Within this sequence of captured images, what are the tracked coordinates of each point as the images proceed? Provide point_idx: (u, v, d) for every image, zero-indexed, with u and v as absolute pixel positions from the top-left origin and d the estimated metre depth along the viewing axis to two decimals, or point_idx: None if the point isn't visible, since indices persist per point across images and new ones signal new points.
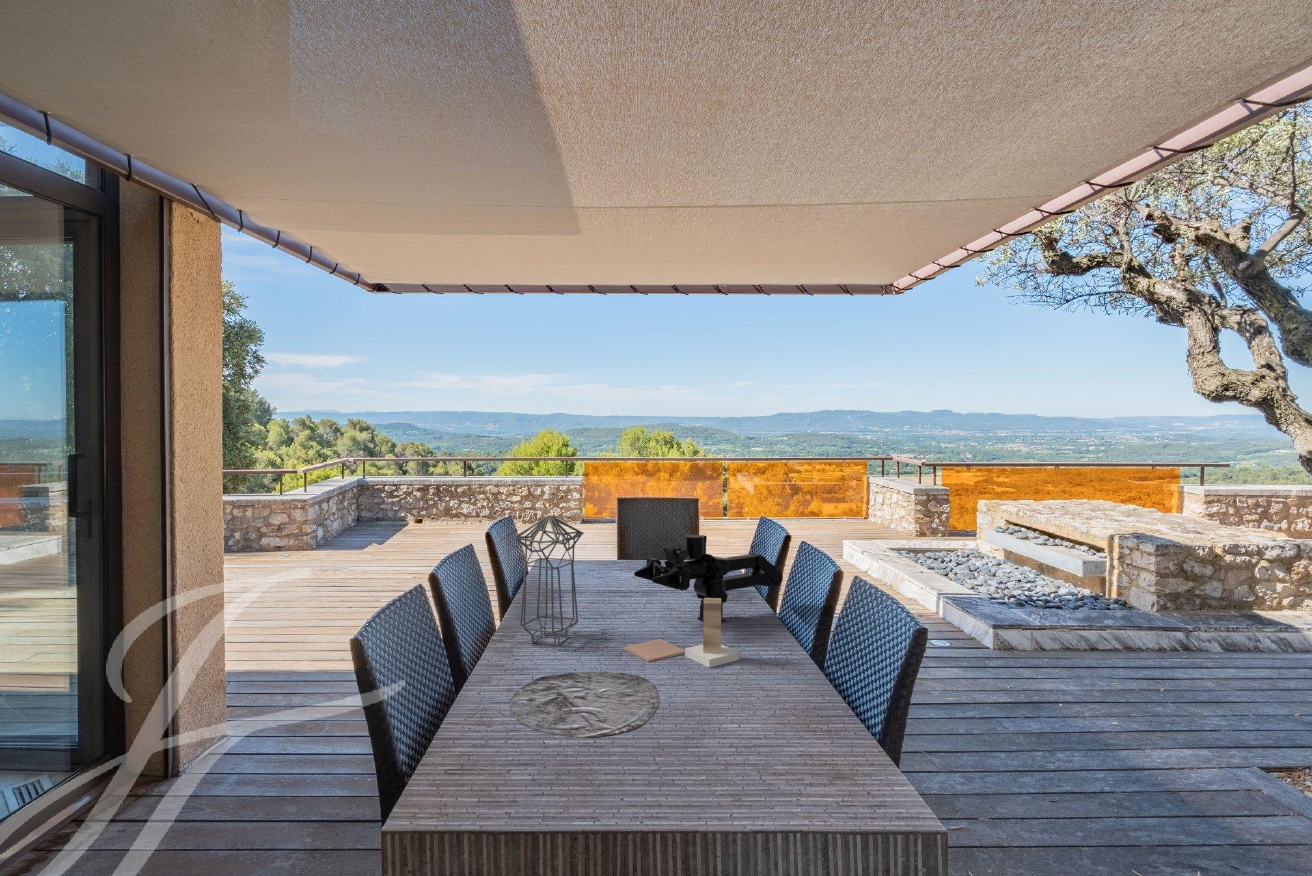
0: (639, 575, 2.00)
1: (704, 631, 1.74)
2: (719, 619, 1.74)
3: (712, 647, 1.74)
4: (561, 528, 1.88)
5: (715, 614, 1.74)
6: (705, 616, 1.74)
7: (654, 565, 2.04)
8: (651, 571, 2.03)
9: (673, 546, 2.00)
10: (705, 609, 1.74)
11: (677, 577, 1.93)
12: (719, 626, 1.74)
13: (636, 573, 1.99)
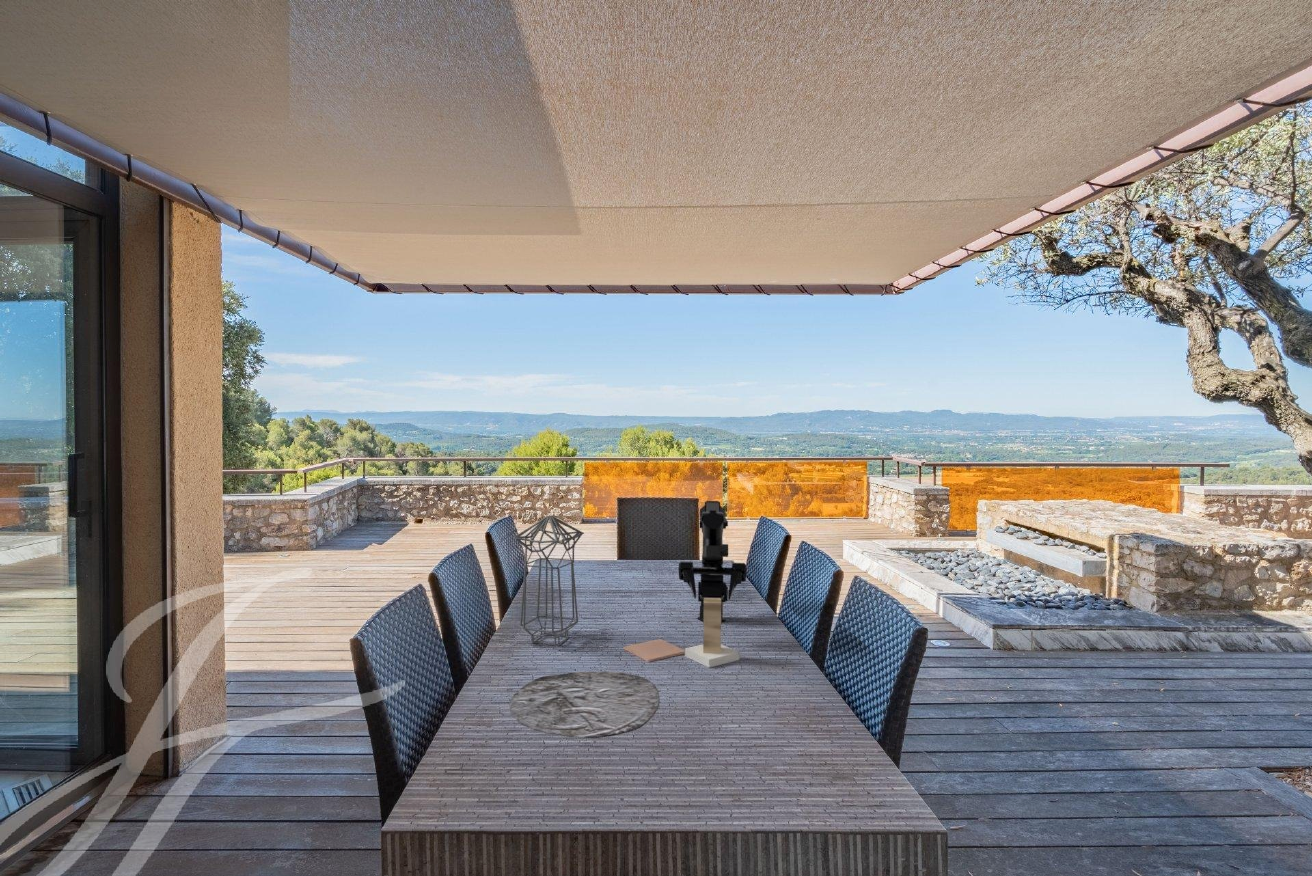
0: None
1: (704, 631, 1.74)
2: (719, 619, 1.74)
3: (712, 647, 1.74)
4: (561, 528, 1.88)
5: (715, 614, 1.74)
6: (705, 616, 1.74)
7: None
8: None
9: (716, 551, 1.85)
10: (705, 609, 1.74)
11: (740, 577, 1.88)
12: (719, 626, 1.74)
13: (695, 595, 1.85)
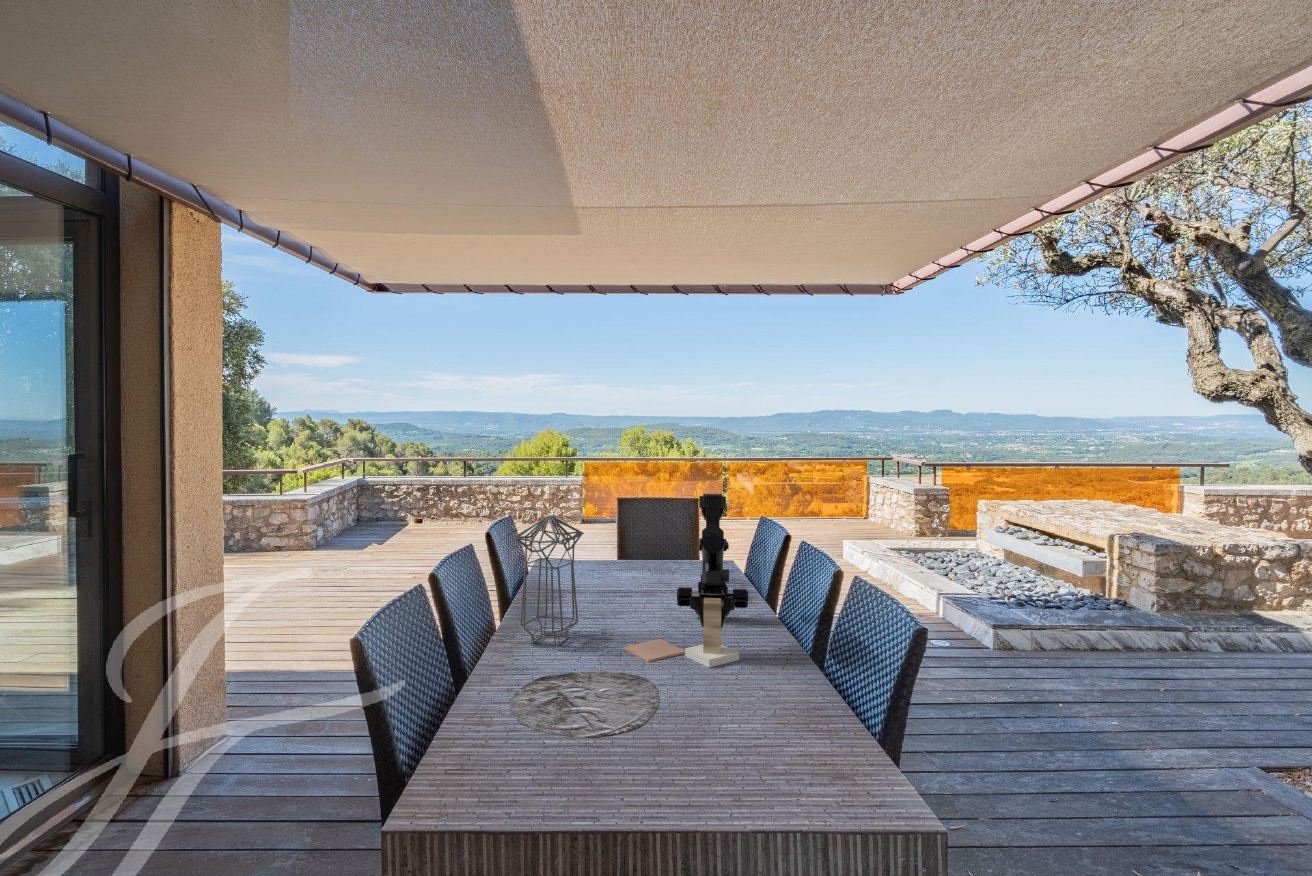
0: None
1: (704, 631, 1.74)
2: (719, 619, 1.74)
3: (712, 647, 1.74)
4: (561, 528, 1.88)
5: (715, 614, 1.74)
6: (705, 616, 1.74)
7: None
8: None
9: (717, 576, 1.76)
10: (705, 609, 1.74)
11: (733, 603, 1.79)
12: (719, 626, 1.74)
13: (703, 624, 1.76)
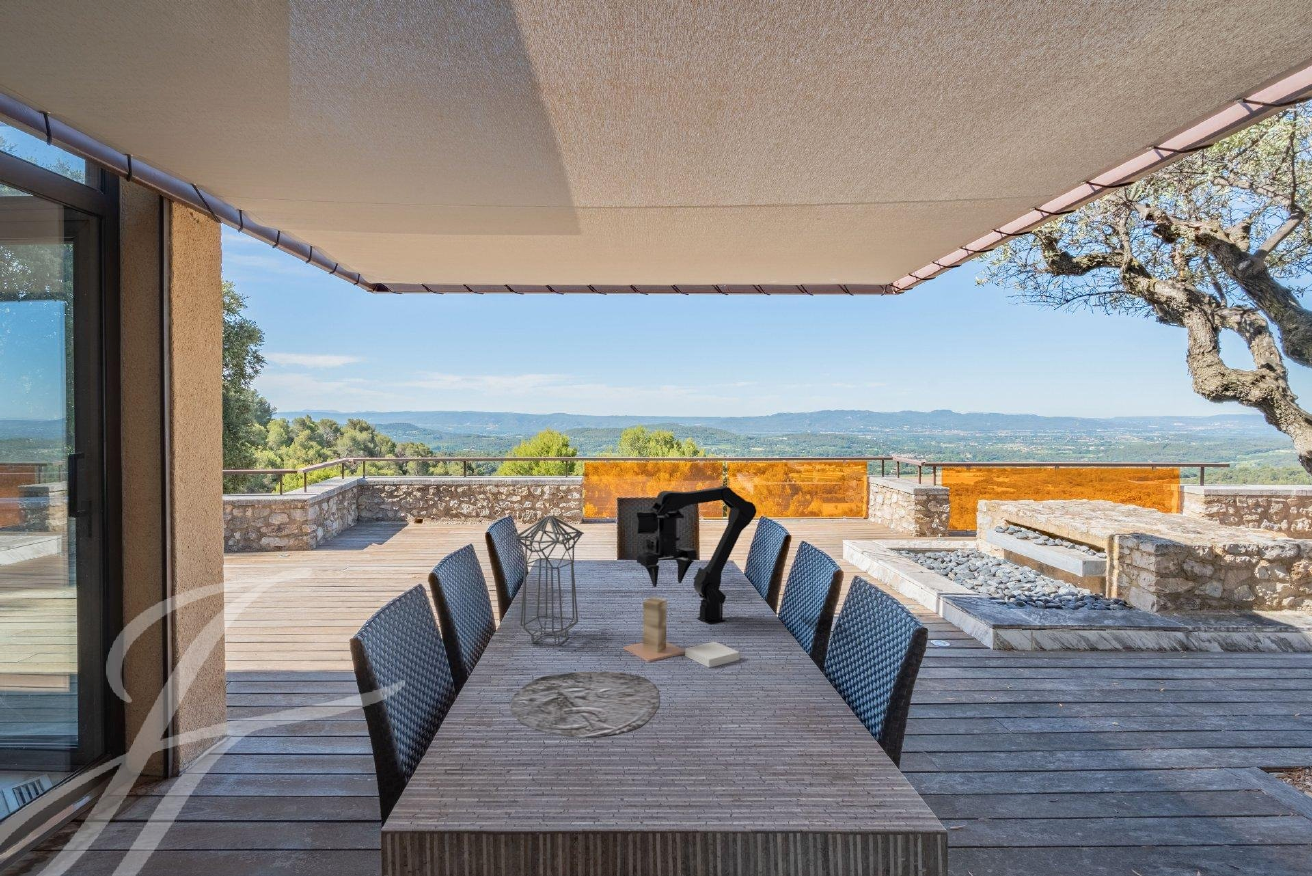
0: (680, 578, 2.07)
1: (644, 629, 1.81)
2: (656, 619, 1.79)
3: (650, 646, 1.80)
4: (561, 528, 1.88)
5: (652, 613, 1.79)
6: (645, 615, 1.80)
7: None
8: (681, 562, 2.08)
9: None
10: (644, 608, 1.80)
11: (645, 565, 2.01)
12: (656, 626, 1.79)
13: (678, 581, 2.08)
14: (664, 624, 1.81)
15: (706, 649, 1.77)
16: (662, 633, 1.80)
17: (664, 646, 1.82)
